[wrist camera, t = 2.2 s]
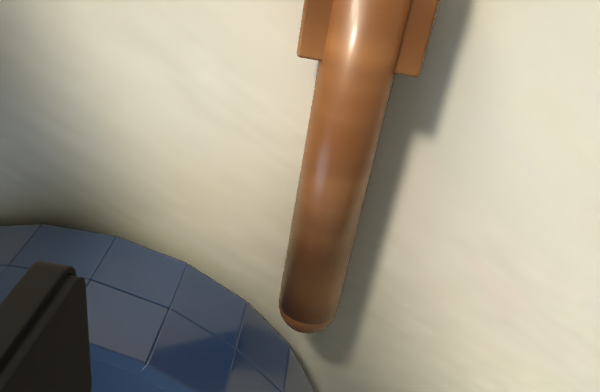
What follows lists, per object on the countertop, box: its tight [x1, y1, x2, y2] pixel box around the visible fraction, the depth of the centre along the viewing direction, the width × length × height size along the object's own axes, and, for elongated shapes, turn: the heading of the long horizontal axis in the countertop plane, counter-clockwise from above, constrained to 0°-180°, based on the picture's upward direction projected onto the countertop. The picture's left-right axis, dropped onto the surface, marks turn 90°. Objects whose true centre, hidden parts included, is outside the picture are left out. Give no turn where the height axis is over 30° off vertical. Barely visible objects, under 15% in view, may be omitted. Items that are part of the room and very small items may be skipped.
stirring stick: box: [279, 0, 440, 333], centre depth 16 cm, size 14×3×2 cm, turn 172°
